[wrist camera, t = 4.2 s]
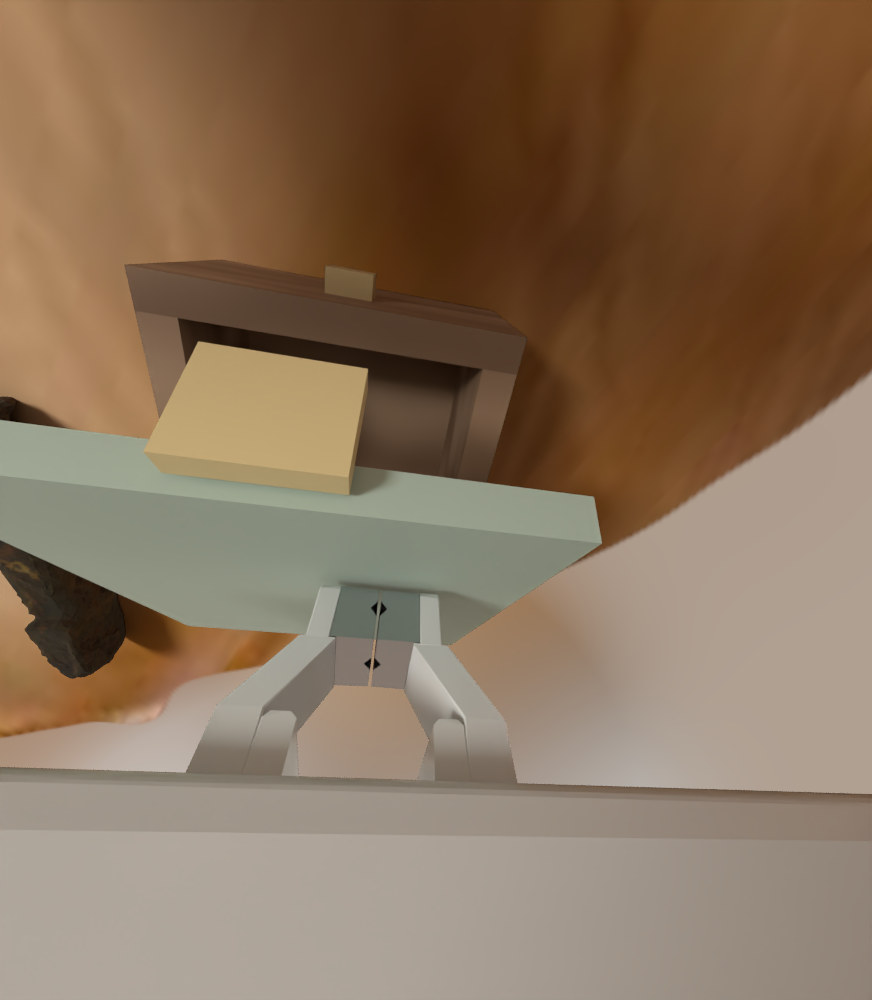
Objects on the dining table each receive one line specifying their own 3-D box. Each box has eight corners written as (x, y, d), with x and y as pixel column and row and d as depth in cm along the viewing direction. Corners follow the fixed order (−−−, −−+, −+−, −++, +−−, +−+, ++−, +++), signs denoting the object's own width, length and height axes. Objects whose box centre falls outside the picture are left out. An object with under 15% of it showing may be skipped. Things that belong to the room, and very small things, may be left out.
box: (219, 237, 16) (116, 230, 10) (498, 291, 17) (535, 310, 12) (250, 522, 24) (201, 602, 18) (440, 542, 25) (447, 622, 20)
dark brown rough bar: (-62, 383, 19) (-187, 418, 15) (26, 391, 19) (-74, 427, 15) (89, 632, 29) (38, 691, 25) (145, 634, 29) (103, 692, 26)
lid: (-110, 291, 6) (-262, 420, 5) (600, 406, 8) (626, 527, 7) (207, 569, 19) (188, 625, 18) (452, 591, 21) (450, 644, 19)
